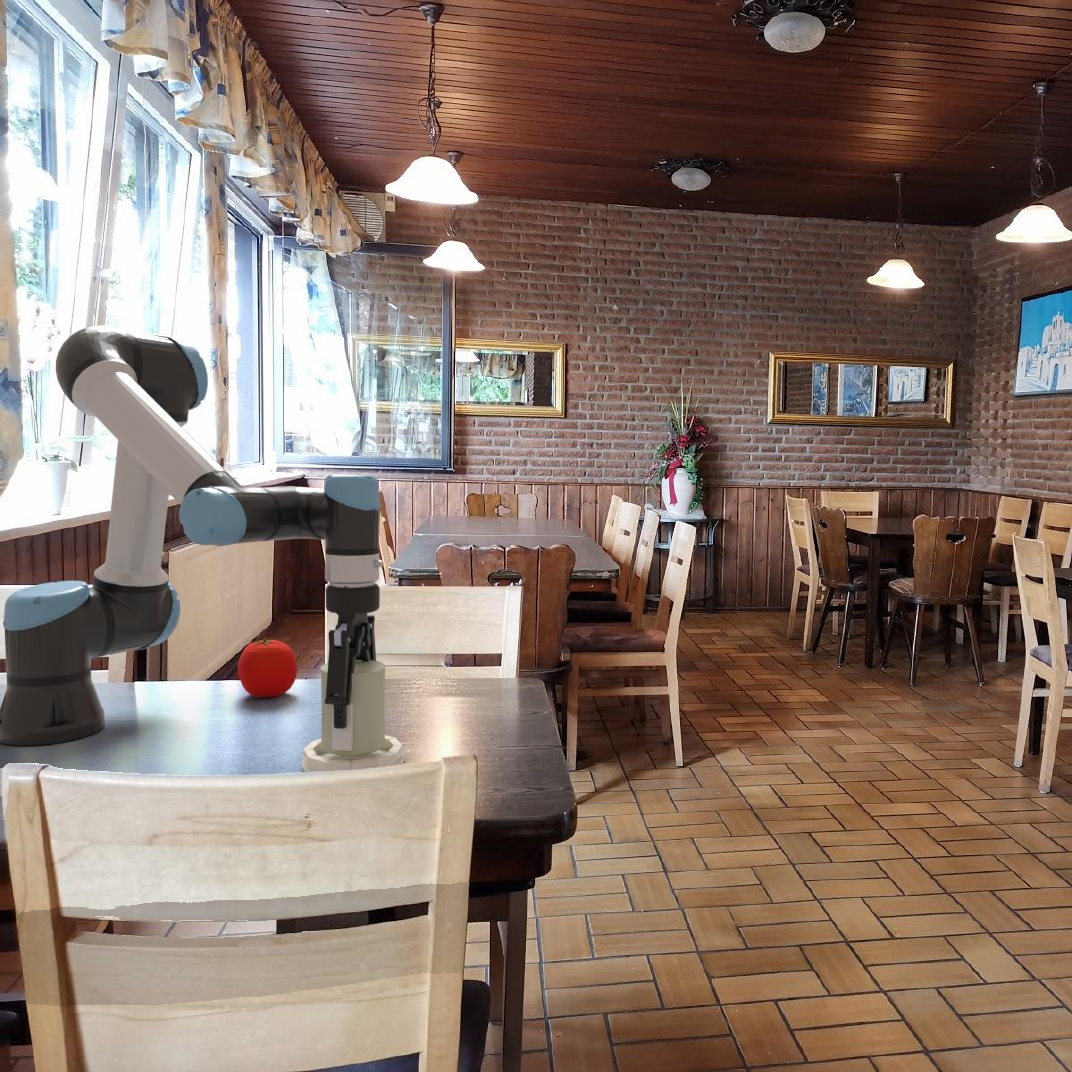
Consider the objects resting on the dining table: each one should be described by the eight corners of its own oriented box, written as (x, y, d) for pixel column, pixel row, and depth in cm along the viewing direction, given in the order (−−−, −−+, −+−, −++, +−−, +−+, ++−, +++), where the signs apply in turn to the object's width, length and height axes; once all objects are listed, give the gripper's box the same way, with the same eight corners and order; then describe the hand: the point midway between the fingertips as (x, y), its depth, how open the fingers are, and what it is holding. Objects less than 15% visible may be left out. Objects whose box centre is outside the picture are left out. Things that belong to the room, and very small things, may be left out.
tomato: (283, 685, 163) (283, 631, 162) (305, 697, 155) (305, 640, 154) (229, 694, 157) (228, 637, 156) (249, 706, 148) (248, 647, 148)
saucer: (285, 779, 114) (285, 761, 114) (322, 745, 128) (322, 729, 128) (389, 784, 113) (389, 766, 113) (414, 749, 127) (414, 733, 127)
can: (389, 734, 125) (390, 656, 124) (380, 756, 116) (380, 671, 115) (327, 734, 125) (327, 655, 124) (313, 755, 116) (313, 670, 115)
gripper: (355, 595, 108) (355, 765, 109) (398, 574, 129) (397, 717, 131) (298, 593, 108) (299, 763, 110) (350, 573, 130) (351, 715, 131)
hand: (353, 738), depth 120 cm, fingers closed on can, 9 cm apart
